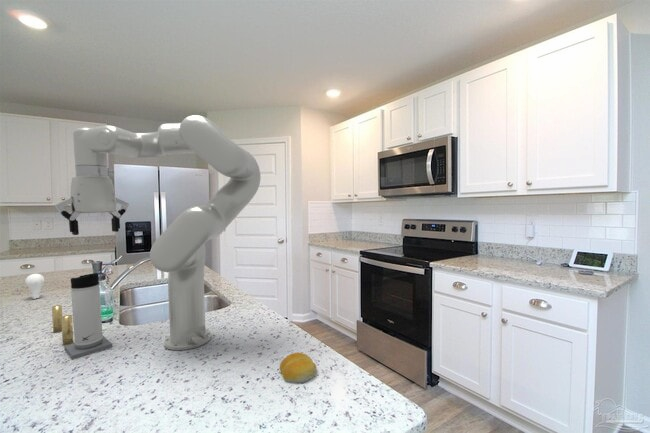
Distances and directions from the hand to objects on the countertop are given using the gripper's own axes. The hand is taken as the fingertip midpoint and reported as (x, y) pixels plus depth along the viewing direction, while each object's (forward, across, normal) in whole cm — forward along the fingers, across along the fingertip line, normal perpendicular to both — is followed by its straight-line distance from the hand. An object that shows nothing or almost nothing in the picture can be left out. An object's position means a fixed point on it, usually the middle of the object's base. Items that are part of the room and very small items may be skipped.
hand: (96, 233), depth 90 cm
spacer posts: (+32, +3, -14) cm, 35 cm away
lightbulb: (+31, +2, -74) cm, 81 cm away
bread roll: (+33, -22, +57) cm, 70 cm away
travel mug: (+31, +4, +2) cm, 31 cm away
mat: (+32, +4, +1) cm, 32 cm away
